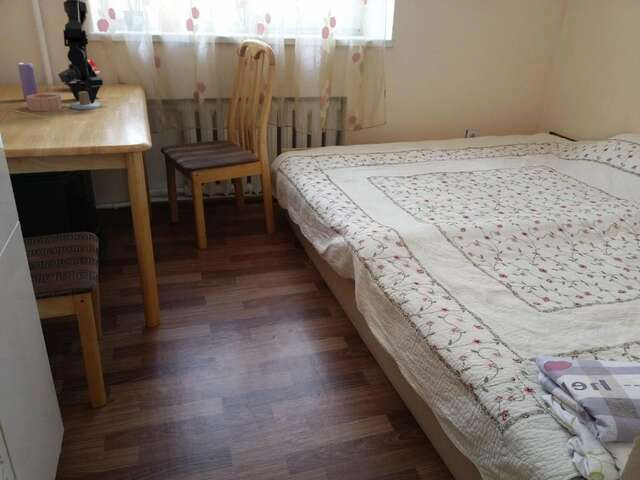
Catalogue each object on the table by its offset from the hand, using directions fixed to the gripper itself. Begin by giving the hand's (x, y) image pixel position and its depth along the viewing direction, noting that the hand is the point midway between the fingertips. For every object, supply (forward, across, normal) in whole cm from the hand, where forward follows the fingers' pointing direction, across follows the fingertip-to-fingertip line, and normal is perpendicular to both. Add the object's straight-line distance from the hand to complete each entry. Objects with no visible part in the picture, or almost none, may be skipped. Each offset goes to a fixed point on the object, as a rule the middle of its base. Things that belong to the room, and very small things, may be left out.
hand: (84, 102), depth 214 cm
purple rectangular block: (+3, -32, -3) cm, 32 cm away
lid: (+2, 0, 0) cm, 2 cm away
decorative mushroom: (+3, -39, +29) cm, 49 cm away
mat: (+2, 0, 0) cm, 2 cm away
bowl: (+2, -10, -11) cm, 15 cm away
